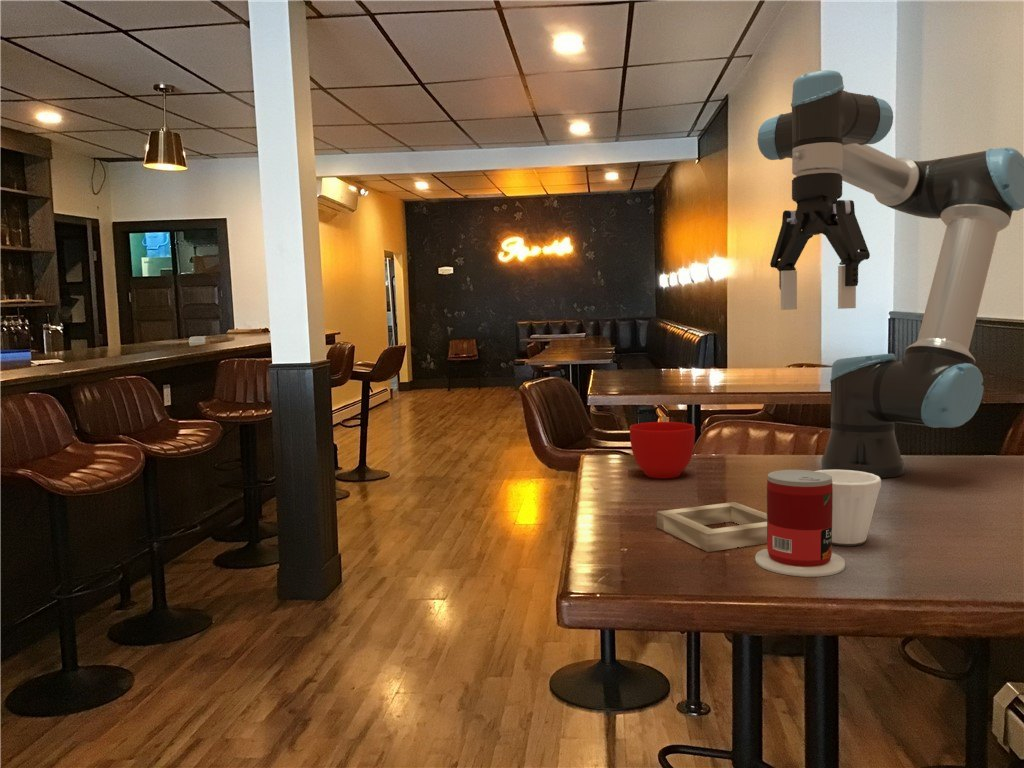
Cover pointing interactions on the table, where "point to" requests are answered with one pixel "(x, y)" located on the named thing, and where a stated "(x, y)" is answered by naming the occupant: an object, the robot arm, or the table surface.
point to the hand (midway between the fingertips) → (816, 309)
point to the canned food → (799, 517)
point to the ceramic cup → (662, 447)
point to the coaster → (827, 569)
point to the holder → (693, 531)
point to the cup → (852, 505)
